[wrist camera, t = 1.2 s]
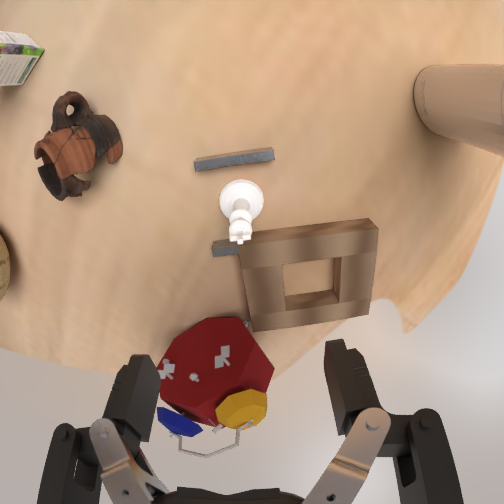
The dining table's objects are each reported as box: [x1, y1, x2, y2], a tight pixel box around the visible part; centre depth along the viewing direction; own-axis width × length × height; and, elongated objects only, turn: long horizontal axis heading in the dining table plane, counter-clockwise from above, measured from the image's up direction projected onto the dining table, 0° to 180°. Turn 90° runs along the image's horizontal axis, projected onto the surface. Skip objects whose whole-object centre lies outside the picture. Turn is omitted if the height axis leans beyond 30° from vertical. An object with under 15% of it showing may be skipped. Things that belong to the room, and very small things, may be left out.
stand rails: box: [194, 148, 275, 257], centre depth 30 cm, size 8×11×2 cm
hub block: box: [237, 218, 378, 332], centre depth 35 cm, size 16×13×3 cm
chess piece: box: [219, 179, 264, 244], centre depth 27 cm, size 5×5×10 cm
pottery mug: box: [34, 91, 122, 201], centre depth 24 cm, size 12×10×8 cm
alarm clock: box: [156, 317, 275, 458], centre depth 31 cm, size 15×9×20 cm, turn 115°
